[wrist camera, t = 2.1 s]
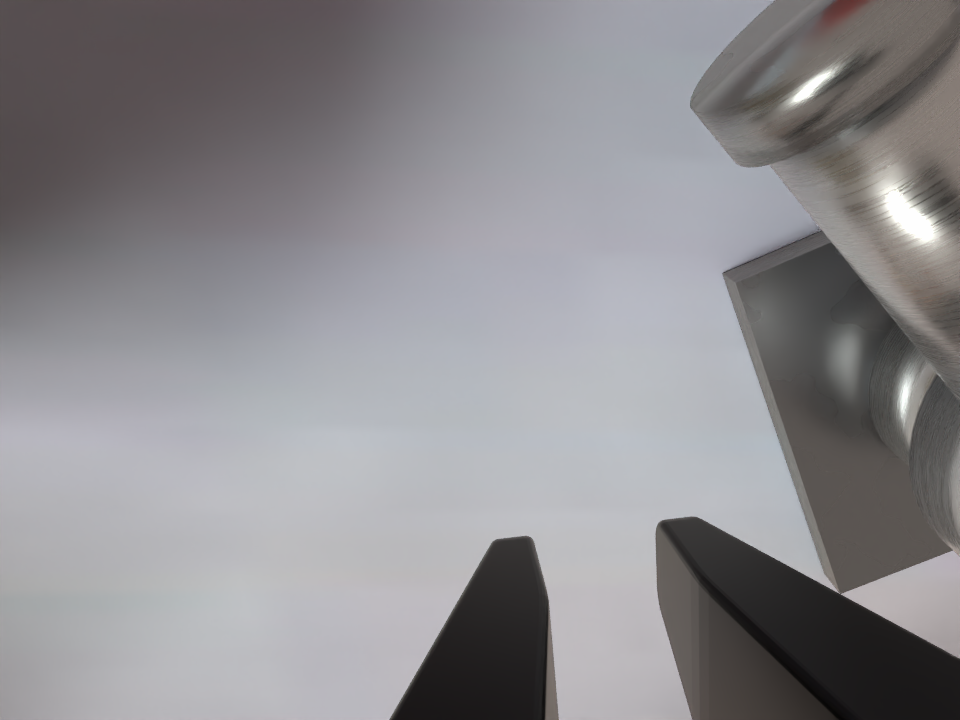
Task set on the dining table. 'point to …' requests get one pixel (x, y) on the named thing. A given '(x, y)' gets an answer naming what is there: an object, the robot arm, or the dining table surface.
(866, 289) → the flange plate
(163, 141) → the dining table surface
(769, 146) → the elbow
